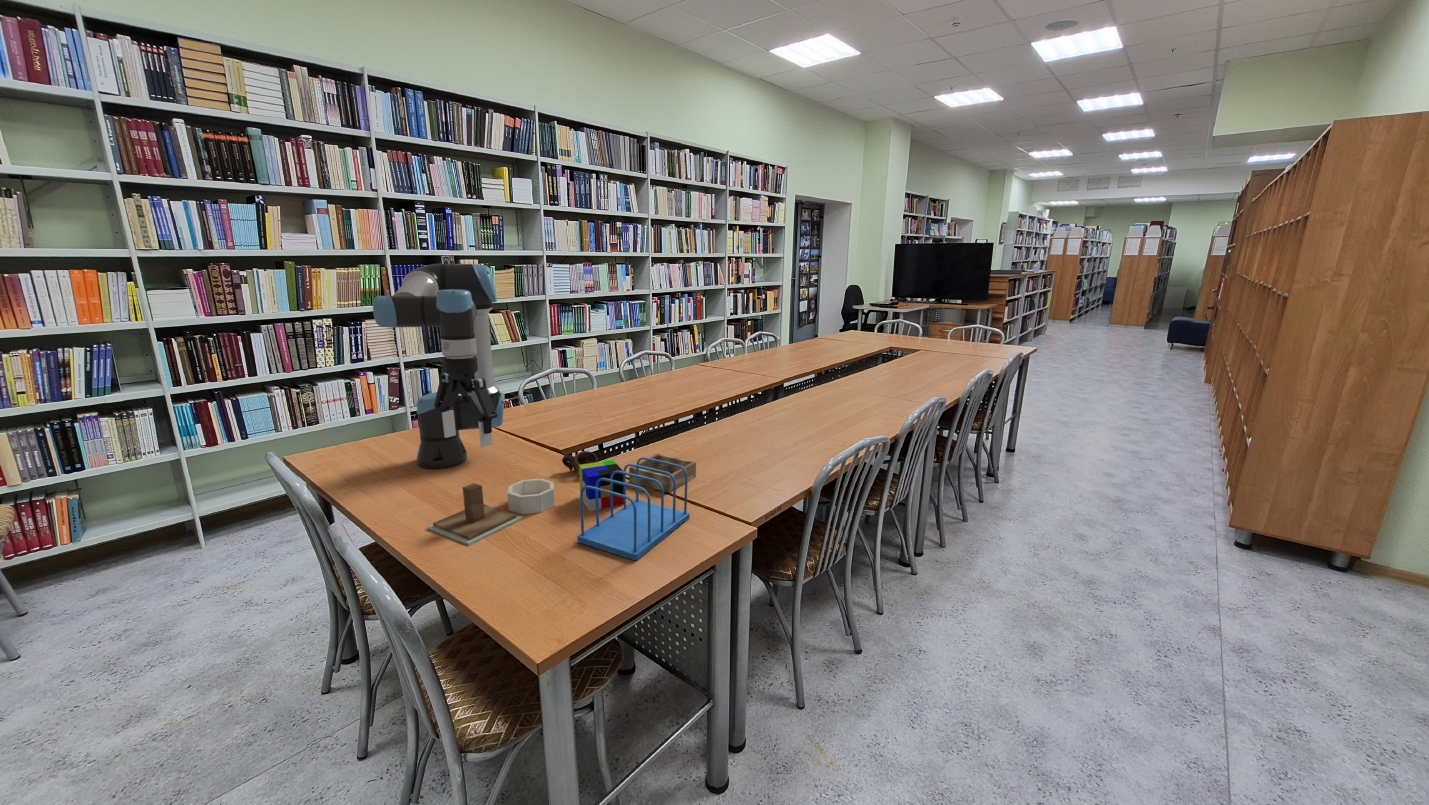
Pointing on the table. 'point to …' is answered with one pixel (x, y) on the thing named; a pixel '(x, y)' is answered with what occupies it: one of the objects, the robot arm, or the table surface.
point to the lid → (474, 516)
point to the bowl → (531, 496)
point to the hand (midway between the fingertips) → (468, 441)
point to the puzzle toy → (600, 484)
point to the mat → (476, 537)
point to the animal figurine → (577, 460)
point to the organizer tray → (662, 478)
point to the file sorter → (633, 517)
